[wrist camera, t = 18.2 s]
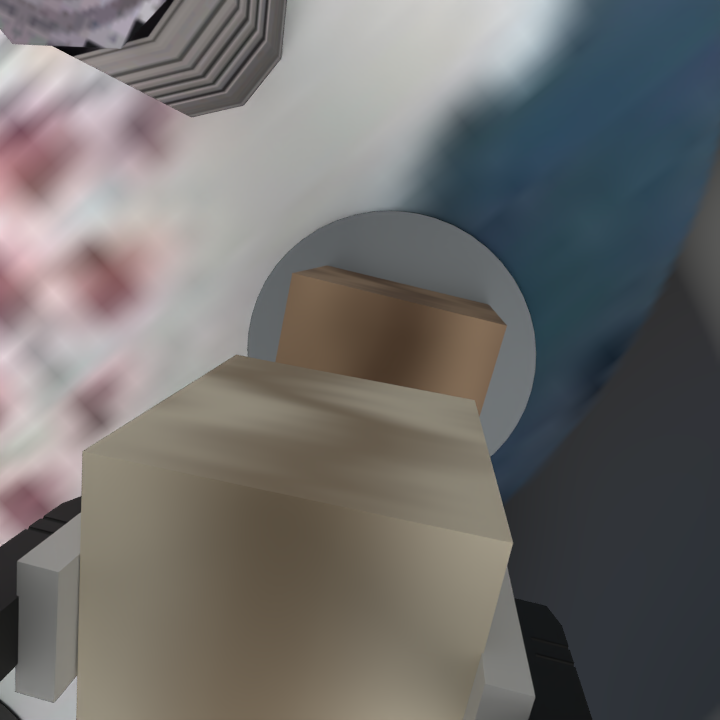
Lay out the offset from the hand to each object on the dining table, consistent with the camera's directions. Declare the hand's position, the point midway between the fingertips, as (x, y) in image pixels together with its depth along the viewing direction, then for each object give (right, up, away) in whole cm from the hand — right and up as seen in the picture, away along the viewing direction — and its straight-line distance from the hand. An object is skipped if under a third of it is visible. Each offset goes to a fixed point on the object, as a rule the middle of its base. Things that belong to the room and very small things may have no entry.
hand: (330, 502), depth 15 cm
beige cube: (0, 0, +1) cm, 1 cm away
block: (+3, +4, +18) cm, 18 cm away
